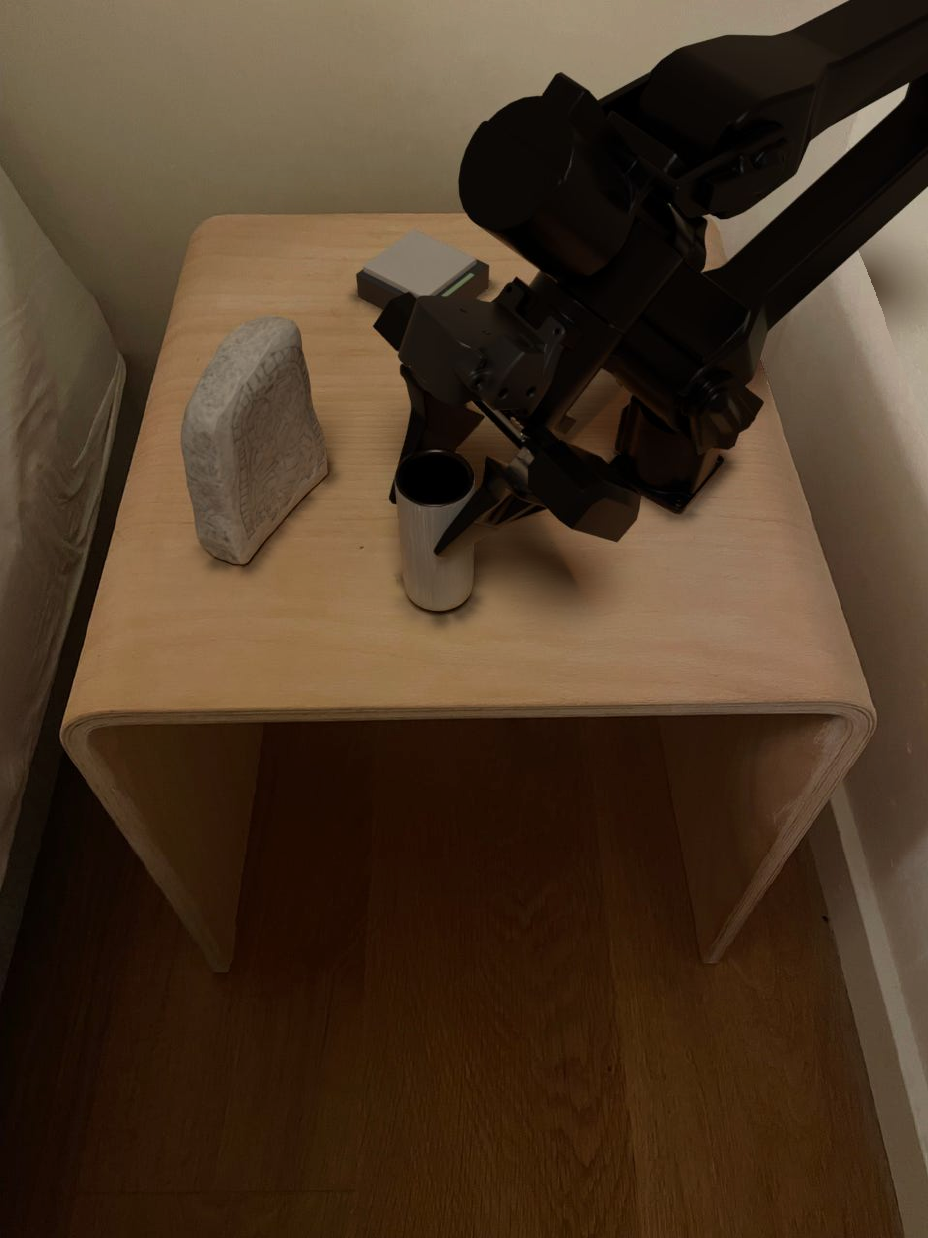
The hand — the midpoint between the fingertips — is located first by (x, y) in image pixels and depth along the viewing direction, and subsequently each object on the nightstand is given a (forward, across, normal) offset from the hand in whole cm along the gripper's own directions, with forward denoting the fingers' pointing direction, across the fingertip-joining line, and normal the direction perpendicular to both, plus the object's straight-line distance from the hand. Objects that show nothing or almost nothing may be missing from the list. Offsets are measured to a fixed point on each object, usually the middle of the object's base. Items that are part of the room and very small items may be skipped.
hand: (416, 528), depth 53 cm
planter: (+4, 0, +6) cm, 7 cm away
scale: (-7, -27, +18) cm, 33 cm away
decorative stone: (+9, -13, +2) cm, 16 cm away
